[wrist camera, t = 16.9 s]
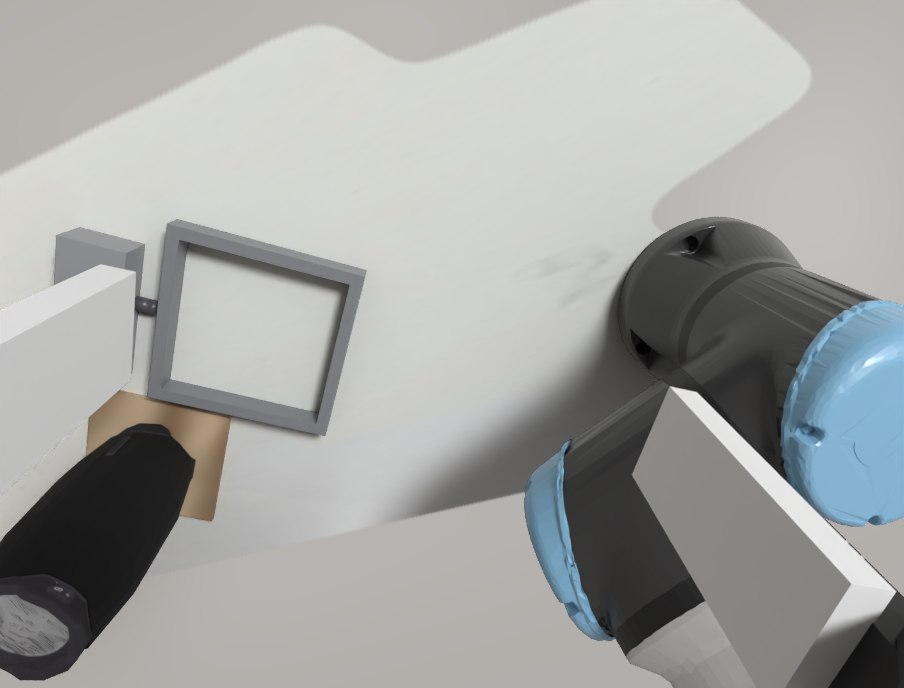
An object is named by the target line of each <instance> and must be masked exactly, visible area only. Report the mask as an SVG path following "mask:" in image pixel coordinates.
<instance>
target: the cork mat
mask: <svg viewBox="0 0 904 688" xmlns="http://www.w3.org/2000/svg"><path fill="white" fill-rule="evenodd" d="M231 417H232V415H227V414H223V413H218V412H214V411H209V410H205V409H200V408H196V407H191V406H187V405H182V404H178V403H173V402H169V401H164V400H159V399H155V398H150V397H147V396H142V395H138V394H133V393H129V392H124V391H120V390H119V391H118V392H117V393H116V394H114V395H113V396H112V397H111V398H110V399H109V400H108V401H107V402H105V403H104V404H103V405H102V406H101V407H100V408H99V409H98V410H96V411H95V412H94V413H93V414H92V415H91V416H90V417H89V426H88V439H87V453H86V456H87V455H89V454H90V453H91V452H93V451H94V450H95V449H96V448H98V447H99V446H100V445H102V444H103V443H104V442H106V441H107V440H108V439H110V438H111V437H113V436H116V435H118V434H119V433H120V432H122V431H123V430H125V429H126V428H129V427H131V426H134V425H136V424H139V423H148V424H161V425H163V426H164V427H166V428H167V429H169V431H170V433H171V436H172V437H173V438H174V439H175V440H176V441H178V442H179V443H180V444H181V445H182V447H183V448H184V449H185V450H186V452H187V453H188V454H189V455H190V456H191V457H192V458H193V459H195V460H196V462H195V468H194V474H193V478H192V480H191V482H190V484H189V488H188V491H187V494H186V497H185V500H184V503H183V506H182V508H181V511H180V514H179V515H181V516H187V517H192V518H197V519H202V520H208V521H212V520H213V518H214V513H215V508H216V502H217V496H218V491H219V485H220V479H221V474H222V468H223V462H224V457H225V451H226V445H227V440H228V434H229V428H230V422H231Z"/></svg>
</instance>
